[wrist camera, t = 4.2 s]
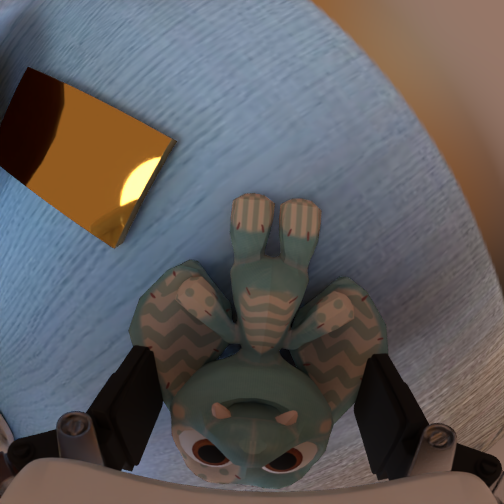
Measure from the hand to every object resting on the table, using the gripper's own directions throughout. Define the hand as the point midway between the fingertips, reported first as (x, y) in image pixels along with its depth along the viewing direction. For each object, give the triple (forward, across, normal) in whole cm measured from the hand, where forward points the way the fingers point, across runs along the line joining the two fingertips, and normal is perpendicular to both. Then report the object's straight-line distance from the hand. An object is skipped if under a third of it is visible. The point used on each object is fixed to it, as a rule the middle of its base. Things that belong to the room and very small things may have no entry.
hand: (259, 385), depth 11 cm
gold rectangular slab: (+2, +7, -12) cm, 14 cm away
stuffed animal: (+1, 0, -7) cm, 7 cm away
